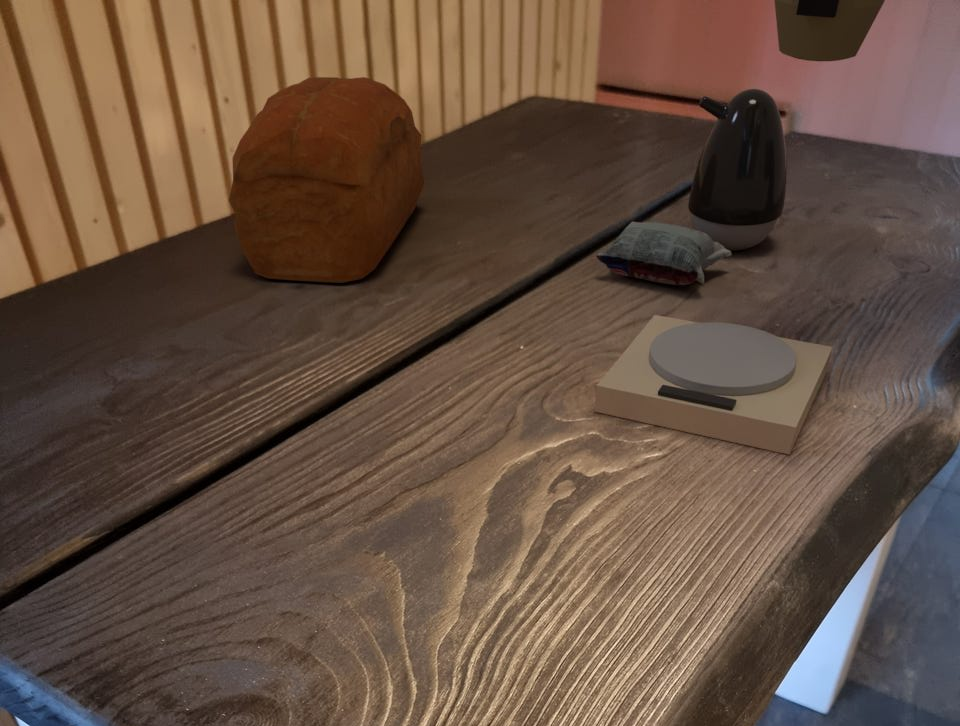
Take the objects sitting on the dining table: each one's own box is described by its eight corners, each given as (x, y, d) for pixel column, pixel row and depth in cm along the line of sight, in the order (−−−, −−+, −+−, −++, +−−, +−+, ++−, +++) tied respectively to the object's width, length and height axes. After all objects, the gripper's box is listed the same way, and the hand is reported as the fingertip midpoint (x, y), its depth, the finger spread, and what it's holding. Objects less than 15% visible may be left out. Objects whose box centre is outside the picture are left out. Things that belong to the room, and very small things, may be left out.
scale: (826, 372, 81) (835, 337, 79) (789, 454, 71) (798, 417, 69) (651, 339, 86) (655, 306, 84) (594, 411, 76) (597, 376, 74)
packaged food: (627, 251, 102) (631, 204, 99) (729, 271, 98) (737, 223, 94) (592, 279, 97) (595, 231, 94) (699, 302, 93) (706, 252, 89)
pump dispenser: (683, 224, 109) (703, 76, 98) (774, 229, 107) (804, 79, 97) (679, 256, 101) (700, 99, 91) (776, 262, 100) (809, 103, 89)
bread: (231, 279, 98) (198, 112, 87) (307, 198, 117) (288, 53, 107) (378, 288, 96) (363, 117, 85) (431, 203, 115) (425, 56, 104)
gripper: (889, -424, 63) (809, -17, 78) (823, -481, 49) (742, 25, 65) (1008, -433, 60) (901, -11, 76) (973, -496, 47) (852, 34, 62)
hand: (828, 5), depth 70 cm, fingers closed on squeeze bottle, 8 cm apart
